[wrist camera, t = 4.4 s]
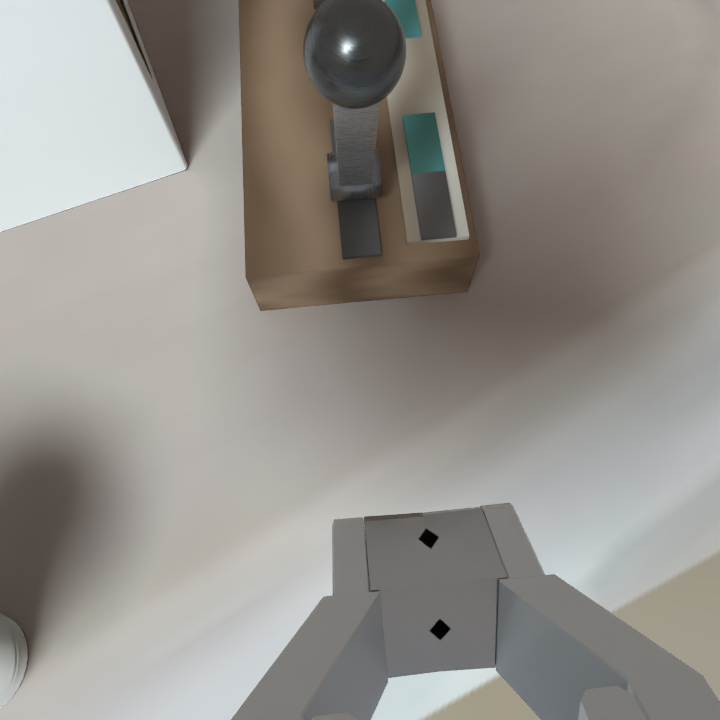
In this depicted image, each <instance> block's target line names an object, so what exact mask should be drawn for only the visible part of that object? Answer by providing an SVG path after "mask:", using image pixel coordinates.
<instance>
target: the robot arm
mask: <svg viewBox="0 0 720 720" xmlns="http://www.w3.org/2000/svg"><path fill="white" fill-rule="evenodd" d="M364 524H365V529H364ZM365 537H366V539H365ZM332 545H333V596H325V597H323V598H322V599H321V601H320V602H319V603H318V605H317V606H316V607H315V609H314V610H313V611H312V613H311V614H310V615H309V617H308V618H307V619H306V621H305V622H304V623H303V625H302V626H301V627H300V629H299V630H298V631H297V633H296V634H295V635H294V637H293V638H292V639H291V641H290V642H289V643H288V645H287V646H286V647H285V649H284V650H283V651H282V653H281V654H280V655H279V657H278V658H277V659H276V661H275V662H274V663H273V665H272V666H271V667H270V669H269V670H268V671H267V673H266V674H265V675H264V677H263V678H262V679H261V681H260V682H259V683H258V685H257V686H256V687H255V689H254V690H253V691H252V693H251V694H250V695H249V697H248V698H247V699H246V701H245V702H244V703H243V705H242V706H241V707H240V709H239V710H238V711H237V712H236V714H235V715H234V716H233V718H232V719H231V720H371V718H372V715H373V713H374V711H375V709H376V707H377V704H378V702H379V700H380V698H381V696H382V693H383V691H384V689H385V687H386V685H387V682H388V678H391V677H399V676H407V675H415V674H423V673H430V672H438V671H451V670H465V669H480V668H494V667H496V671H497V672H498V673H499V674H500V675H501V676H502V677H503V678H504V680H505V681H506V682H507V683H508V684H509V685H510V686H511V687H512V688H513V689H514V691H515V692H516V693H517V694H518V695H519V696H520V697H521V698H522V699H523V700H524V701H525V703H526V704H527V705H528V706H529V707H530V708H531V709H532V710H533V711H534V712H535V714H536V715H537V716H538V717H539V718H540V719H541V720H720V701H719V700H718V698H717V697H716V695H715V694H714V692H713V691H712V689H711V688H710V686H709V685H708V683H707V682H706V680H705V678H704V677H703V675H701V674H700V673H698V672H697V671H695V670H694V669H692V668H691V667H689V666H688V665H687V664H685V663H684V662H682V661H681V660H679V659H678V658H676V657H675V656H673V655H672V654H671V653H669V652H668V651H666V650H665V649H663V648H662V647H660V646H659V645H657V644H656V643H654V642H653V641H651V640H650V639H649V638H647V637H646V636H644V635H643V634H641V633H640V632H638V631H637V630H635V629H634V628H632V627H631V626H629V625H628V624H627V623H625V622H624V621H622V620H621V619H619V618H618V617H616V616H615V615H613V614H612V613H610V612H609V611H608V610H606V609H605V608H603V607H602V606H600V605H599V604H597V603H596V602H594V601H593V600H591V599H590V598H588V597H587V596H586V595H584V594H583V593H581V592H580V591H578V590H577V589H575V588H574V587H572V586H571V585H569V584H568V583H566V582H565V581H564V580H562V579H561V578H559V577H558V576H556V575H555V574H553V575H545V574H544V571H543V569H542V567H541V565H540V563H539V561H538V558H537V556H536V554H535V552H534V550H533V548H532V546H531V543H530V541H529V539H528V537H527V535H526V533H525V530H524V528H523V526H522V524H521V522H520V520H519V518H518V515H517V513H516V511H515V509H514V507H513V506H512V505H511V504H510V503H503V504H495V505H486V506H480V507H474V508H464V509H454V510H444V511H435V512H425V513H411V514H397V515H383V516H369V517H364V520H363V518H362V517H361V518H348V519H335V520H334V521H333V525H332Z"/></svg>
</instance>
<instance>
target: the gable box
mask: <svg viewBox="0 0 720 720" xmlns="http://www.w3.org/2000/svg"><path fill="white" fill-rule="evenodd" d="M187 167H188V165H187V163H186V160H185V157H184V154H183V152H182V149H181V146H180V143H179V141H178V138H177V135H176V132H175V130H174V127H173V124H172V122H171V119H170V116H169V113H168V111H167V108H166V105H165V102H164V100H163V97H162V94H161V91H160V89H159V86H158V83H157V80H156V78H155V75H154V72H153V69H152V67H151V64H150V61H149V58H148V56H147V53H146V50H145V47H144V45H143V42H142V39H141V36H140V34H139V31H138V28H137V25H136V23H135V20H134V17H133V14H132V12H131V9H130V6H129V4H128V1H127V0H0V232H2V231H5V230H8V229H11V228H14V227H17V226H20V225H23V224H26V223H29V222H32V221H35V220H38V219H41V218H44V217H47V216H50V215H53V214H56V213H59V212H62V211H65V210H68V209H71V208H74V207H77V206H79V205H82V204H85V203H88V202H91V201H94V200H97V199H100V198H103V197H106V196H109V195H112V194H115V193H118V192H121V191H124V190H127V189H130V188H133V187H136V186H139V185H142V184H145V183H148V182H151V181H154V180H157V179H160V178H163V177H166V176H169V175H172V174H175V173H178V172H181V171H184V170H186V168H187Z"/></svg>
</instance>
